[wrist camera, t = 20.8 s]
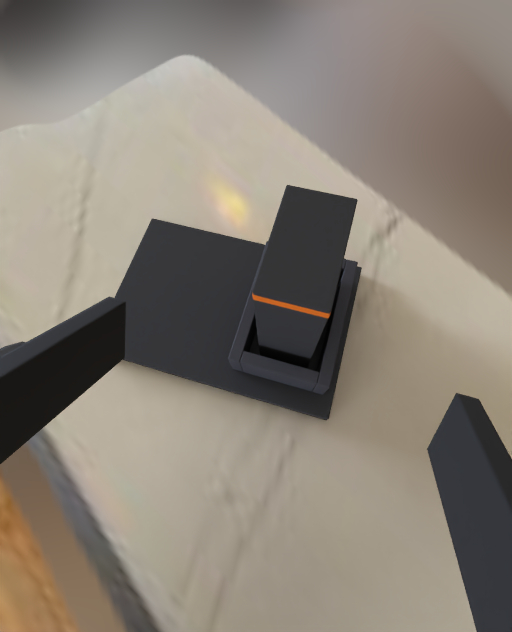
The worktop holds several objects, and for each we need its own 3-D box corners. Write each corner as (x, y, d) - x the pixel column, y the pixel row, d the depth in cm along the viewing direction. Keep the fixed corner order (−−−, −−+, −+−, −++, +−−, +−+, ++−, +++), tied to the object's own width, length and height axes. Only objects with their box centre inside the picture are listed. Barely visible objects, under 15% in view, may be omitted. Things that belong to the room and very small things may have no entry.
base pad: (358, 273, 29) (371, 246, 25) (326, 420, 25) (336, 414, 21) (155, 225, 31) (139, 194, 28) (96, 351, 27) (68, 335, 24)
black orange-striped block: (325, 294, 27) (358, 198, 17) (307, 368, 25) (331, 311, 15) (280, 283, 28) (286, 184, 17) (259, 355, 26) (251, 291, 15)
